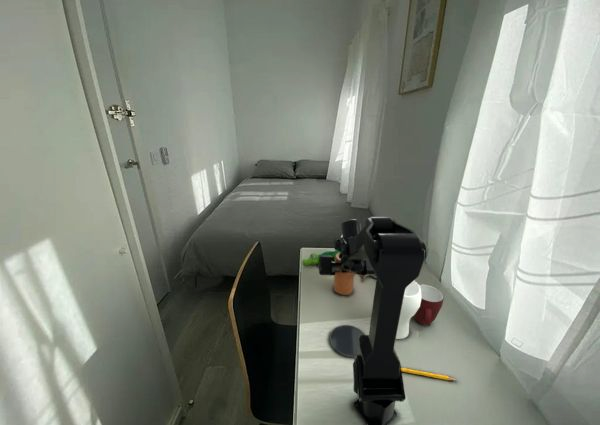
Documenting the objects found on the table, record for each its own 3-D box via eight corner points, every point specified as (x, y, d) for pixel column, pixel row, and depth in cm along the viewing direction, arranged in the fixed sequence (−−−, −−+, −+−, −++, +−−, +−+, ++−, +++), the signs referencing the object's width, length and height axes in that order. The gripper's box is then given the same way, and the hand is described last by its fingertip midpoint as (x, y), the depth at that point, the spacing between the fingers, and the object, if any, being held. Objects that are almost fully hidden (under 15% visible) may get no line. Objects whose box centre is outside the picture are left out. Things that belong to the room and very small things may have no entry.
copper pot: (354, 294, 86) (357, 261, 82) (335, 294, 86) (337, 261, 82) (349, 278, 95) (351, 248, 91) (331, 278, 95) (333, 248, 91)
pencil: (394, 365, 61) (395, 366, 60) (455, 377, 58) (456, 378, 58) (394, 369, 61) (395, 370, 60) (455, 381, 58) (456, 382, 57)
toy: (300, 266, 104) (300, 256, 103) (329, 250, 116) (329, 241, 115) (315, 274, 99) (315, 264, 97) (344, 257, 110) (344, 247, 109)
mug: (443, 339, 69) (451, 310, 66) (412, 334, 71) (418, 306, 67) (433, 312, 79) (439, 286, 75) (405, 308, 80) (410, 282, 77)
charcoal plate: (375, 346, 67) (375, 343, 67) (347, 364, 62) (347, 361, 62) (349, 322, 75) (349, 320, 75) (323, 336, 70) (323, 334, 70)
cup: (417, 324, 74) (426, 282, 69) (409, 350, 66) (418, 303, 61) (381, 310, 80) (387, 270, 75) (370, 332, 72) (375, 288, 66)
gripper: (379, 233, 78) (367, 248, 92) (319, 233, 78) (316, 248, 92) (385, 269, 73) (371, 279, 87) (321, 269, 73) (317, 279, 87)
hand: (343, 270), depth 88 cm, fingers closed on copper pot, 6 cm apart
